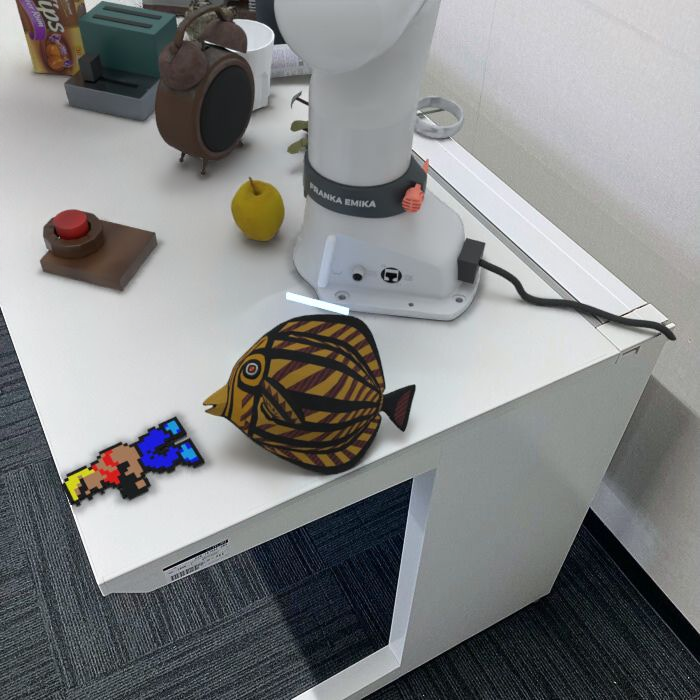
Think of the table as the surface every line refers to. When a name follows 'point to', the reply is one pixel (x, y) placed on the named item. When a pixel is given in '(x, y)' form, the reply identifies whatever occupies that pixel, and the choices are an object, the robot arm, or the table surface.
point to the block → (98, 252)
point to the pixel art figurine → (133, 463)
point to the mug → (268, 18)
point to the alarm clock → (205, 89)
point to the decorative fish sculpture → (312, 393)
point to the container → (287, 63)
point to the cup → (258, 57)
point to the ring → (445, 105)
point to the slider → (90, 66)
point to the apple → (258, 210)
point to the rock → (205, 17)
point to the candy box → (53, 34)
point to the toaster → (122, 59)
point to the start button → (71, 224)
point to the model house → (178, 3)
